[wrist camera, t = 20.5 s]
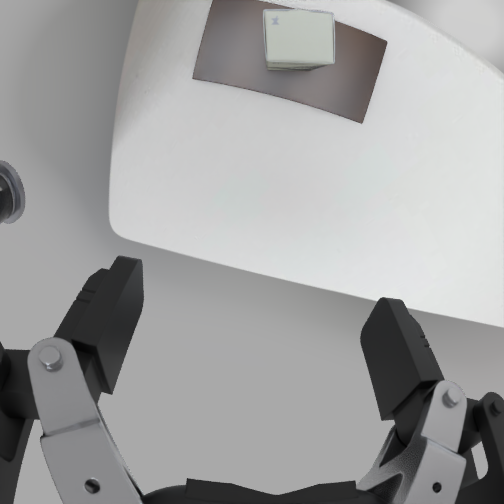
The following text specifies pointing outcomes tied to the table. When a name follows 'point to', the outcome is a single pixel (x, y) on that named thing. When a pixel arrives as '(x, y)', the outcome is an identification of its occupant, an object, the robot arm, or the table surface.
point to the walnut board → (283, 81)
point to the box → (298, 39)
